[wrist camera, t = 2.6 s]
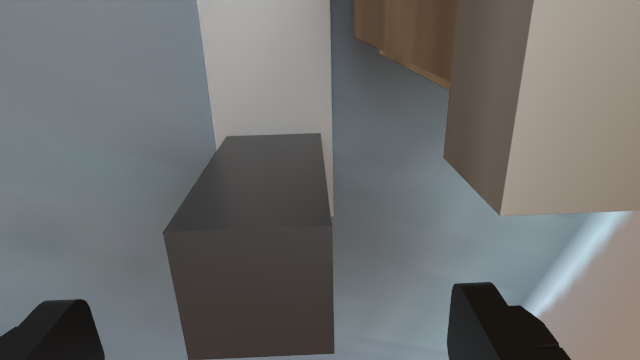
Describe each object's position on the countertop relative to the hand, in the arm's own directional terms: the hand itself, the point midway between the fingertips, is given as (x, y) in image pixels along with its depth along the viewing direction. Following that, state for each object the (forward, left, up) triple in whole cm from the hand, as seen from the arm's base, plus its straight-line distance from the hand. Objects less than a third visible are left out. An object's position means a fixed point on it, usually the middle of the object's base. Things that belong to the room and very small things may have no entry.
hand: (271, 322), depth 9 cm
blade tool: (-1, +5, -10) cm, 11 cm away
